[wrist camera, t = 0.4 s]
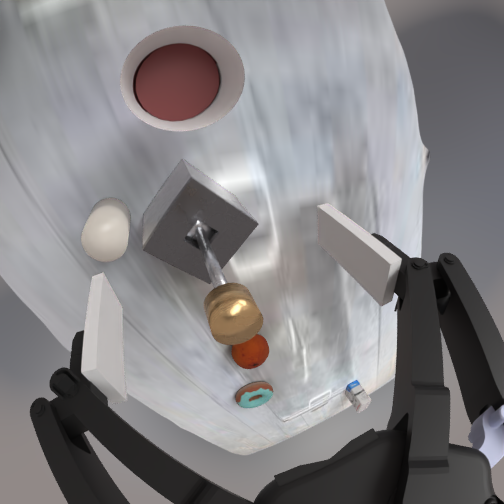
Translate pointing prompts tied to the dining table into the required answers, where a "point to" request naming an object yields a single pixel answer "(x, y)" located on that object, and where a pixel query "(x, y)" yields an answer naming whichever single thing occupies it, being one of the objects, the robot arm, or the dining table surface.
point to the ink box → (357, 396)
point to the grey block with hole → (194, 220)
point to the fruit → (251, 352)
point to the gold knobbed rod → (225, 297)
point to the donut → (254, 394)
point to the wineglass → (182, 78)
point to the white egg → (107, 230)
